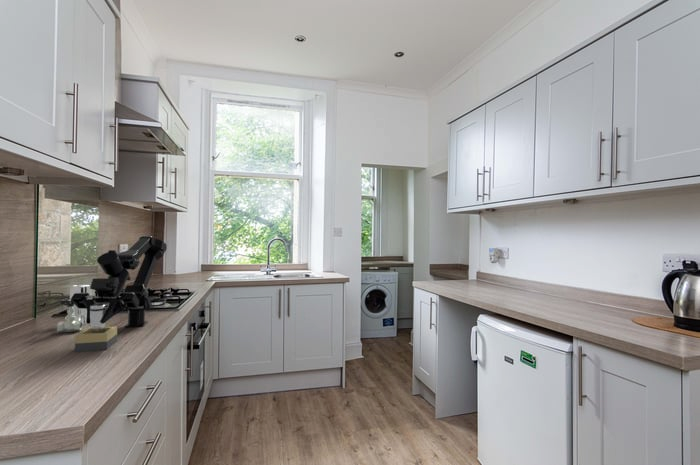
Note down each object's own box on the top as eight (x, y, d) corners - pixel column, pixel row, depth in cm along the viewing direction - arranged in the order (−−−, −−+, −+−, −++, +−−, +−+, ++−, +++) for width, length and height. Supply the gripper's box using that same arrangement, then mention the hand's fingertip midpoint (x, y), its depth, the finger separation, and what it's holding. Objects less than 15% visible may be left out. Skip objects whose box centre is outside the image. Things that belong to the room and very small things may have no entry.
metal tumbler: (89, 341, 108) (90, 304, 108) (105, 339, 111) (105, 303, 111) (88, 345, 105) (89, 306, 105) (104, 342, 107) (105, 305, 107)
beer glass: (65, 323, 133) (66, 286, 133) (86, 320, 139) (86, 284, 139) (74, 326, 130) (75, 287, 130) (94, 322, 136) (95, 285, 136)
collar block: (87, 343, 111) (87, 328, 111) (116, 341, 113) (117, 326, 113) (74, 351, 102) (75, 335, 103) (106, 349, 105) (107, 333, 105)
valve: (62, 330, 124) (62, 298, 125) (84, 328, 127) (84, 297, 127) (54, 335, 118) (55, 301, 118) (77, 333, 121) (78, 300, 121)
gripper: (75, 268, 111) (49, 309, 100) (135, 268, 113) (117, 308, 102) (89, 288, 118) (67, 328, 107) (146, 288, 121) (129, 327, 110)
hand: (94, 323), depth 107 cm, fingers closed on metal tumbler, 4 cm apart
